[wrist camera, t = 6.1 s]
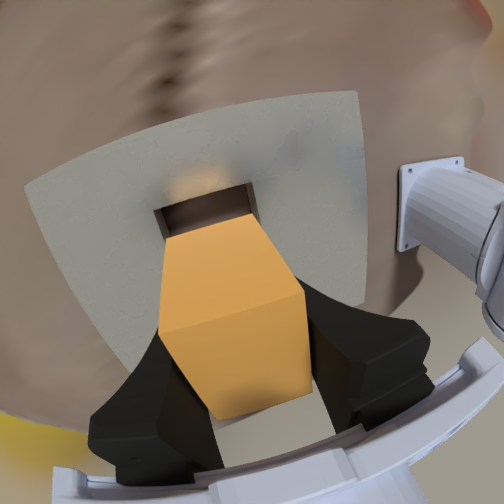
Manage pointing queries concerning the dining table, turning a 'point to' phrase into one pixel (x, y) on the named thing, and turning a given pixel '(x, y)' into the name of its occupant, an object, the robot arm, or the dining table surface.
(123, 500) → the robot arm
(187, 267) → the orange rectangular block
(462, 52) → the dining table surface
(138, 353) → the grey plate with hole
